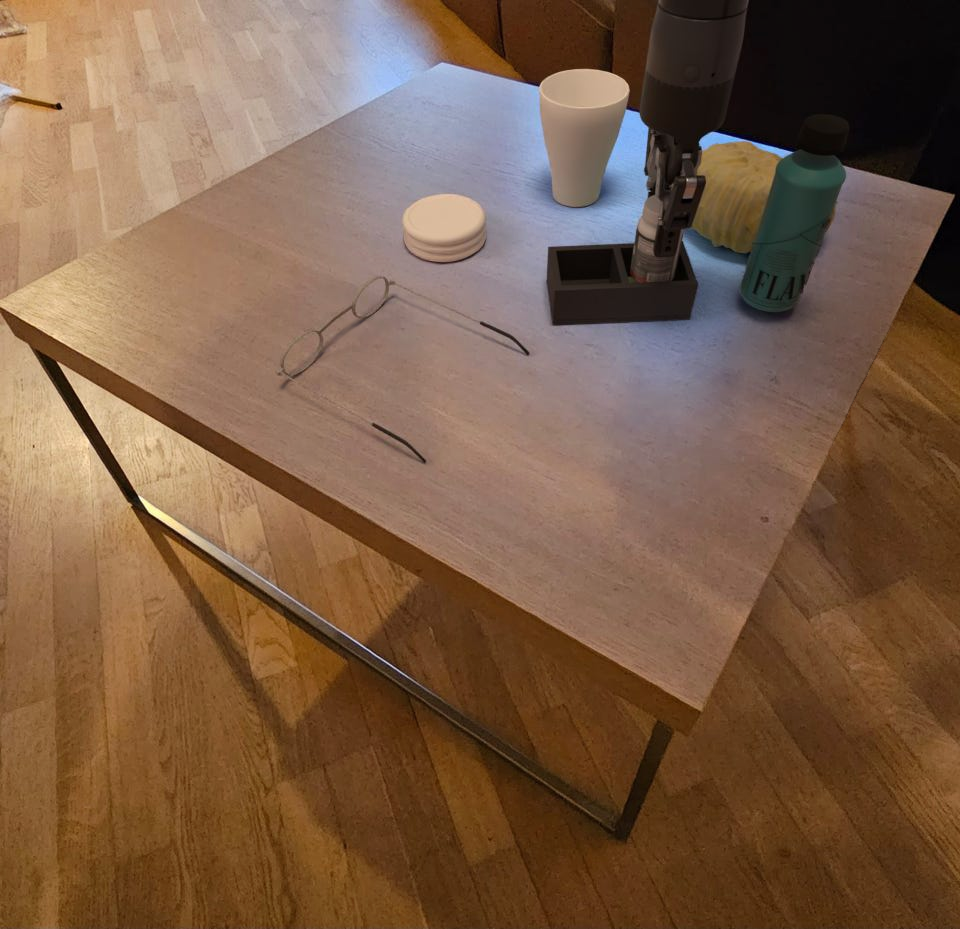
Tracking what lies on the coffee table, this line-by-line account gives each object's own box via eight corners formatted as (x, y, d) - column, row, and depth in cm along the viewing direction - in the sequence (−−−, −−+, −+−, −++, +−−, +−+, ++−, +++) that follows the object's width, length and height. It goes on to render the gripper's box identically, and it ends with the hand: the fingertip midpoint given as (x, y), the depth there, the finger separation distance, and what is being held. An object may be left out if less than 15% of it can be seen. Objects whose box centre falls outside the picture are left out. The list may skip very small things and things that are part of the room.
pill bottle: (644, 256, 80) (656, 186, 73) (682, 272, 78) (698, 200, 71) (621, 277, 77) (631, 206, 71) (659, 294, 75) (673, 222, 69)
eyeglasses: (390, 293, 82) (386, 263, 79) (530, 358, 75) (532, 328, 72) (277, 385, 73) (267, 356, 70) (424, 469, 66) (421, 441, 63)
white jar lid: (437, 274, 84) (435, 248, 81) (388, 238, 89) (385, 212, 86) (502, 241, 88) (502, 215, 85) (452, 208, 93) (450, 183, 90)
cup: (614, 219, 90) (628, 110, 80) (531, 214, 91) (534, 106, 81) (617, 176, 97) (631, 70, 86) (539, 172, 98) (543, 67, 88)
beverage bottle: (733, 320, 77) (789, 136, 62) (735, 283, 81) (788, 102, 66) (797, 328, 76) (871, 142, 61) (795, 290, 80) (863, 107, 65)
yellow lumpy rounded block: (790, 299, 83) (845, 215, 88) (813, 228, 74) (872, 138, 78) (659, 251, 90) (716, 175, 94) (664, 180, 80) (727, 99, 85)
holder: (546, 281, 83) (548, 246, 79) (675, 276, 83) (683, 240, 79) (552, 325, 78) (554, 290, 74) (690, 319, 78) (698, 284, 74)
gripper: (758, 99, 57) (711, 280, 70) (715, 29, 66) (680, 201, 79) (662, 104, 57) (633, 284, 70) (633, 33, 66) (612, 204, 79)
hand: (658, 239), depth 74 cm, fingers closed on pill bottle, 4 cm apart
